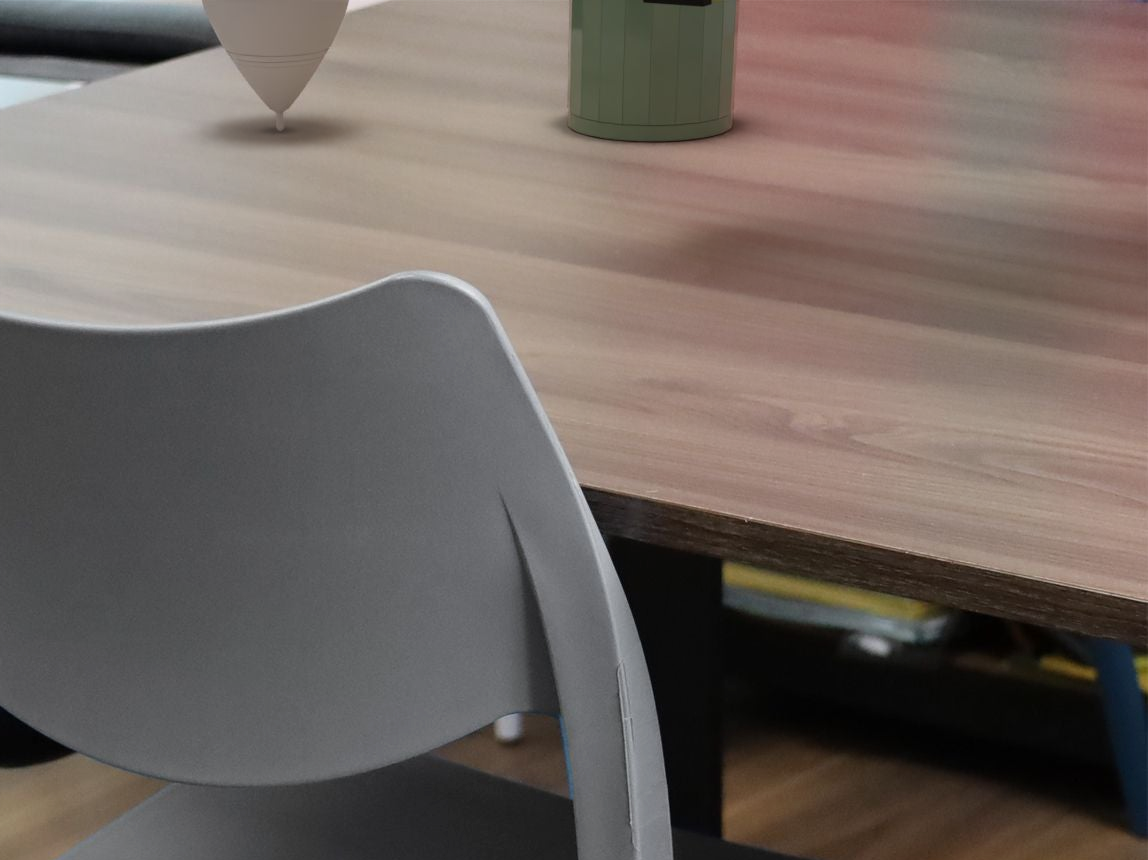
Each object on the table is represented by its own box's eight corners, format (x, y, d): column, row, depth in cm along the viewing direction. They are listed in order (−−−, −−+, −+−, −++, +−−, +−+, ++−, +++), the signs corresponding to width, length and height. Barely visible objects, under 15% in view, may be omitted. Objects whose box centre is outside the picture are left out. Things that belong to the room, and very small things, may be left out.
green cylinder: (760, 118, 124) (772, -102, 119) (685, 148, 117) (694, -83, 113) (617, 102, 128) (623, -110, 123) (537, 130, 122) (540, -93, 117)
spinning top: (197, 120, 125) (186, -118, 120) (338, 112, 127) (332, -123, 121) (218, 149, 119) (206, -101, 113) (366, 141, 120) (361, -107, 115)
